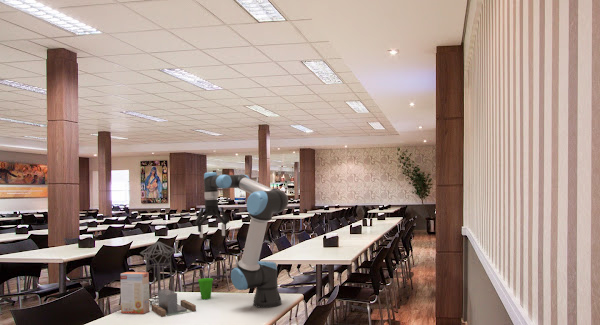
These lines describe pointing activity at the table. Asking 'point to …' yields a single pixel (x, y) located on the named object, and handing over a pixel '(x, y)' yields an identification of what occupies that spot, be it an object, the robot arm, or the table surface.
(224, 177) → the robot arm
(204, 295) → the cup
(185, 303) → the bay walls
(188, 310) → the pad
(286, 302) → the table surface
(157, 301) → the geometric lantern
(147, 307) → the cracker box
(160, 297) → the angle bracket
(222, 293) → the table surface
